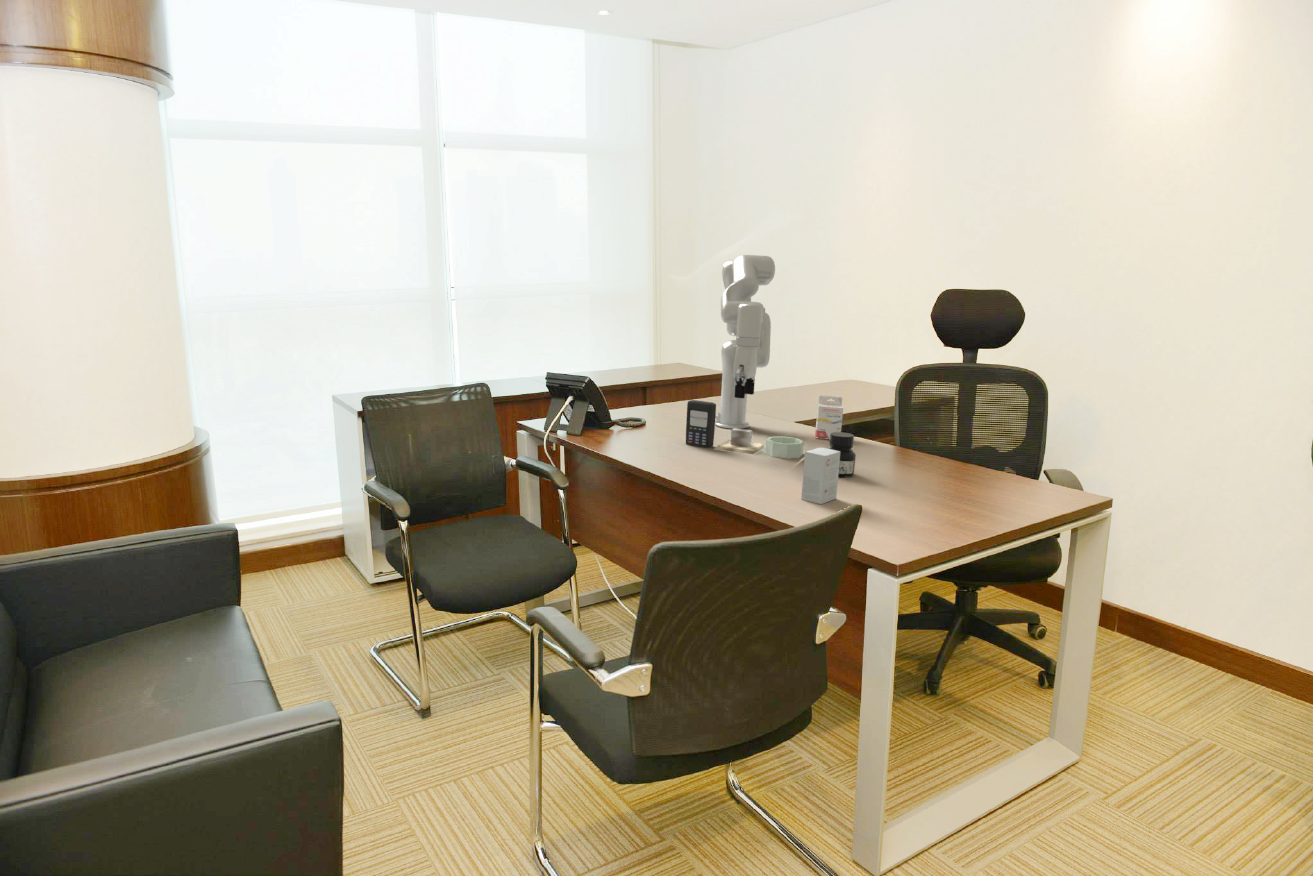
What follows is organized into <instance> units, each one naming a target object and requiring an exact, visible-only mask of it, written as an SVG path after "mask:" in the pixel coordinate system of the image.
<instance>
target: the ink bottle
mask: <svg viewBox="0 0 1313 876" xmlns="http://www.w3.org/2000/svg"><path fill="white" fill-rule="evenodd" d="M854 438H855V435H854V434H852V433H850V432H842V431H841V432H833V433H831V434H830V439H829V448H828V449H832V450H836V451H840V462H839V473H838V478H850V477H853V476H854V475H855V468H856V467H855V466H856V455H857V454H856V452H855V451H854V450H853V448H854V440H855V439H854Z"/></svg>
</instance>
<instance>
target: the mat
mask: <svg viewBox="0 0 1313 876" xmlns="http://www.w3.org/2000/svg"><path fill="white" fill-rule="evenodd" d="M765 449H766V445H764V447H763V448H761V449H760V450H758V451H757V452H755V453H754V454H748V453H741V452H734V451H727V450H719V449H717V446H716V447H715V448H713V449H712V450H715V451H722V452H729V453H734V454H735V453H736V454H743V455H744V454H745V455H749V456H756V455H757V454H759V453H761V452H762V451H764V450H765Z"/></svg>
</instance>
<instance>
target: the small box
mask: <svg viewBox="0 0 1313 876" xmlns="http://www.w3.org/2000/svg"><path fill="white" fill-rule="evenodd" d="M839 462H840V451H836V450H832V449H829V448H826V447H817V448H814V449H809V450H807V451H804V459H803V471H802V472H803V473H802V484H801V485H802V487H801V500H802V501H807V502H811V503H814V504H819V505H823V504H826V503H828V502H831V501H833V500H836V499H837V493H838V482H839V477H838V473H839Z"/></svg>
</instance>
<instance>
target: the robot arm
mask: <svg viewBox="0 0 1313 876" xmlns="http://www.w3.org/2000/svg"><path fill="white" fill-rule="evenodd" d="M721 271H722V272H721V274H722V275H721V276H722V282H723V286H724V291H723V293H722V295H721V298H720V318H721V320H722V322H724V323H725V324H726V331H727V333H728V335H729V336H732V337H735V338H736V339H731V340H727V341H725V342H724V343H723V344H722V346H721V366H722V367H721V368H722V371H721V372H722V374H721V393H720V409H719V412H716V416H715V427H716V426H717V427H720V428H723V429H731V430H732V429H734V428H737V429H747V428H749V427H750V423H749V422H748V421H746V415H747V402H748V395H754V394H755V382H756V379H755V377H756V374H757V368H760V369H762V368H766V367H767V366H768V365H769V363H770V355H771V332H772V331H771V330H772V329H771V328H772V326H771V324H772V323H771V317H770V315H769V313H767V312H766V308H765V306H764V304H763V303H761V302H758V301H752V297H754V296H755V295H756V294H757V293H758V291H759V288H760V287H759V286H768V285H769V284H770V283H771V282H772V281H773V279H774V277H775V274H776V273H775V272H776V264H775V261H774V259H773V258H772V256H770V255H769V256H768V255H755V254H744V255H743V254H741V255H739V256H737V257H736V258H735V259H734V260H728V261H726V262H725V263H723V265H722V270H721Z"/></svg>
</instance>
